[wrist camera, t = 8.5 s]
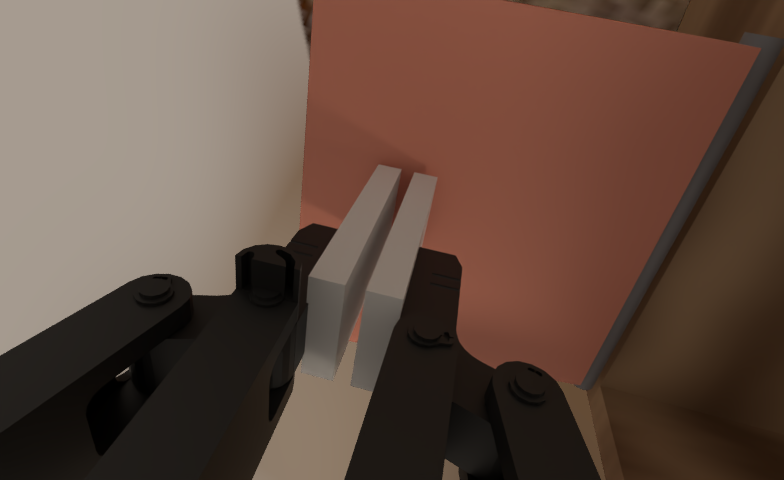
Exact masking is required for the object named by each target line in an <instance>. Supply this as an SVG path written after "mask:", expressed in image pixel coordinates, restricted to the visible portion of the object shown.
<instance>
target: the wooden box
mask: <svg viewBox="0 0 784 480" xmlns="http://www.w3.org/2000/svg"><path fill="white" fill-rule="evenodd" d="M677 32H680V33H686V34H691V35H696V36H702V37H707V38H713V39H718V40H723V41H729V42H734V43H739V42H740V40H741V38H742V36H743V34H744V32H748V33H754V34H759V35H765V36H770V37H776V38H781V39H784V0H691V1H690V3H689V5H688V7H687V10H686V12H685V14H684V16H683V19H682V21H681V23H680V26H679V28H678V30H677ZM586 391H587V396H588V400H589V405H590V409H591V414H592V418H593V423H594V428H595V432H596V437H597V441H598V446H599V451H600V455H601V460H602V464H603V469H604V473H605V478H606V480H784V47H783V48H782V50H781V52H780V54H779V56H778V57H777V59H776V61H775V63H774V64H773V66H772V68H771V70H770V72H769V73H768V75H767V77H766V79H765V81H764V82H763V84H762V86H761V88H760V89H759V91H758V93H757V95H756V97H755V98H754V100H753V102H752V104H751V106H750V107H749V109H748V111H747V113H746V114H745V116H744V118H743V120H742V122H741V123H740V125H739V127H738V129H737V131H736V132H735V134H734V136H733V138H732V139H731V141H730V143H729V145H728V147H727V148H726V150H725V152H724V154H723V156H722V157H721V159H720V161H719V163H718V164H717V166H716V168H715V170H714V172H713V173H712V175H711V177H710V179H709V181H708V182H707V184H706V186H705V188H704V189H703V191H702V193H701V195H700V197H699V198H698V200H697V202H696V204H695V206H694V207H693V209H692V211H691V213H690V214H689V216H688V218H687V220H686V222H685V223H684V225H683V227H682V229H681V231H680V232H679V234H678V236H677V238H676V239H675V241H674V243H673V245H672V247H671V248H670V250H669V252H668V254H667V256H666V257H665V259H664V261H663V263H662V264H661V266H660V268H659V270H658V272H657V273H656V275H655V277H654V279H653V281H652V282H651V284H650V286H649V288H648V290H647V291H646V293H645V295H644V297H643V298H642V300H641V302H640V304H639V306H638V307H637V309H636V311H635V313H634V315H633V316H632V318H631V320H630V322H629V323H628V325H627V327H626V329H625V331H624V332H623V334H622V336H621V338H620V340H619V341H618V343H617V345H616V347H615V348H614V350H613V352H612V354H611V356H610V357H609V359H608V361H607V363H606V365H605V366H604V368H603V370H602V372H601V373H600V375H599V377H598V379H597V381H596V382H595V384H594V386H593V388H592V389H590V390H586Z"/></svg>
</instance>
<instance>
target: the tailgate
mask: <svg viewBox="0 0 784 480" xmlns="http://www.w3.org/2000/svg"><path fill="white" fill-rule="evenodd" d="M783 47H784V39H781V38H776V37H770V36H765V35H759V34H754V33H748V32H744V34H743V36H742V38H741V40H740V42H739V43H734V42H729V41H723V40H718V39H713V38H707V37H702V36H696V35H691V34H686V33H680V32H675V31H669V30H664V29H659V28H653V27H648V26H642V25H637V24H631V23H626V22H621V21H615V20H610V19H604V18H599V17H594V16H588V15H583V14H577V13H572V12H566V11H561V10H556V9H550V8H545V7H539V6H534V5H529V4H523V3H518V2H512V1H507V0H313V17H312V33H311V49H310V66H309V83H308V99H307V115H306V132H305V148H304V149H305V150H304V164H303V165H304V166H303V181H302V197H301V213H300V229H302V228H304V227H306V226H308V225H310V224H312V223H315V224H319V225H324V226H328V227H332V228H336V229H338V228H339V227H340V225H341V224H342V222H343V220H344V219H345V217H346V216H347V214H348V212H349V211H350V209H351V208H352V206H353V204H354V203H355V201H356V200H357V198H358V196H359V195H360V193H361V192H362V190H363V189H364V187H365V185H366V184H367V182H368V181H369V179H370V177H371V176H372V174H373V173H374V171H375V169H376V168H377V166H378V165H379V164H380V165H385V166H389V167H394V168H398V169H402V170H401V176H400V181H399V187H398V192H397V198H396V204H395V209H394V215H393V220H392V226H393V223H394V221H395V218H396V216H397V213H398V211H399V209H400V206H401V204H402V201H403V199H404V196H405V194H406V192H407V189H408V187H409V184H410V182H411V179H412V177H413V175H414V172H416V173H421V174H425V175H430V176H434V177H438V178H437V183H436V187H435V191H434V196H433V200H432V205H431V209H430V214H429V218H428V222H427V227H426V231H425V236H424V240H423V244H422V248H426V249H431V250H435V251H439V252H443V253H448V254H452V255H456V257H457V259H458V260H459V262H460V264H461V266H462V277H461V287H460V297H459V307H458V317H457V327H456V331H457V335H458V339H459V342H460V343H461V345H462V346H463V347H464V349H465V350H466V351H467V352H468V353H470V354H471V355H472V356H473V357H475V358H476V359H478V360H480V361H481V362H483V363H485V364H487V365H489V366H491V367H493V368H495V369H496V368H497V366H499V365H501V364H503V363H505V362H510V361H521V362H525V363H529V364H532V365H534V366H536V367H538V368H540V369H542V370H544V371H545V372H547V373H548V374H549V375H550V376H551V377H552V378H553V379H555V380H556V381H560V382H565V383H570V384H574V385H575V386H576V387H578V388H580V389H583V390H590V389H592V388H593V386H594V384H595V382H596V381H597V379H598V377H599V375H600V373H601V372H602V370H603V368H604V366H605V365H606V363H607V361H608V359H609V357H610V356H611V354H612V352H613V350H614V348H615V347H616V345H617V343H618V341H619V340H620V338H621V336H622V334H623V332H624V331H625V329H626V327H627V325H628V323H629V322H630V320H631V318H632V316H633V315H634V313H635V311H636V309H637V307H638V306H639V304H640V302H641V300H642V298H643V297H644V295H645V293H646V291H647V290H648V288H649V286H650V284H651V282H652V281H653V279H654V277H655V275H656V273H657V272H658V270H659V268H660V266H661V264H662V263H663V261H664V259H665V257H666V256H667V254H668V252H669V250H670V248H671V247H672V245H673V243H674V241H675V239H676V238H677V236H678V234H679V232H680V231H681V229H682V227H683V225H684V223H685V222H686V220H687V218H688V216H689V214H690V213H691V211H692V209H693V207H694V206H695V204H696V202H697V200H698V198H699V197H700V195H701V193H702V191H703V189H704V188H705V186H706V184H707V182H708V181H709V179H710V177H711V175H712V173H713V172H714V170H715V168H716V166H717V164H718V163H719V161H720V159H721V157H722V156H723V154H724V152H725V150H726V148H727V147H728V145H729V143H730V141H731V139H732V138H733V136H734V134H735V132H736V131H737V129H738V127H739V125H740V123H741V122H742V120H743V118H744V116H745V114H746V113H747V111H748V109H749V107H750V106H751V104H752V102H753V100H754V98H755V97H756V95H757V93H758V91H759V89H760V88H761V86H762V84H763V82H764V81H765V79H766V77H767V75H768V73H769V72H770V70H771V68H772V66H773V64H774V63H775V61H776V59H777V57H778V56H779V54H780V52H781V50H782V48H783ZM392 226H391V228H392ZM363 305H364V304H363ZM362 311H363V307H362V309H361V312H360V314H359V317H358V319H357V322H356V324H355V327H354V329H353V332H352V334H351V337H350V339H349V341H352V342H358V336H359V330H360V324H361V317H362Z"/></svg>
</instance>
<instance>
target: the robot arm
mask: <svg viewBox="0 0 784 480" xmlns="http://www.w3.org/2000/svg"><path fill="white" fill-rule="evenodd" d="M401 170H402V169H398V168H394V167H389V166H385V165H380V164H379V165H378V166H377V168H376V169H375V171H374V173H373V174H372V176H371V177H370V179H369V181H368V182H367V184H366V185H365V187H364V189H363V190H362V192H361V193H360V195H359V196H358V198H357V200H356V201H355V203H354V204H353V206H352V208H351V209H350V211H349V212H348V214H347V216H346V217H345V219H344V220H343V222H342V224H341V225H340V227H339V228H338V229H336V228H332V227H328V226H324V225H319V224H315V223H312V224H310V225H308V226H306V227H304V228H302V229H300V230H299V231H298V232H297V233H296V235H295V236H294V237H293V238H292V240H291V242H289V243H288V245H287V246H286V247H282V246H278V245H269V244H266V245H255V246H252V247H249V248H246V249H243V250H242V251H240V252H239V253H238V254H236V255H235V262H236V263H235V264H236V289H235V291H234V292H233V293H232V294H231V295H222V296H207V295H206V296H205V295H204V296H203V295H192V289H191V286H190V284H189V283H188V282H187V281H185V280H184V279H183V278H182V277H178V276H175V275H171V274H153V275H147V276H142V277H140V278H137V279H135V280H133V281H130V282H128V283H126V284H125V285H123V286H121V287H119V288H118V289H116V290H114V291H112V292H111V293H109V294H107V295H105V296H104V297H102V298H100V299H99V300H97V301H95V302H94V303H91V304H90V305H88V306H86V307H84V308H83V309H81V310H79V311H77V312H76V313H74V314H72V315H70V316H69V317H67V318H65V319H63V320H62V321H60V322H58V323H57V324H55V325H53V326H51V327H49V328H48V329H46V330H44V331H42V332H41V333H39V334H37V335H36V336H34V337H32V338H30V339H29V340H27V341H25V342H23V343H22V344H20V345H18V346H16V347H15V348H13V349H11V350H9V351H8V352H6V353H4V354H3V355H1V356H0V480H252V478H253V476H254V474H255V471H256V469H257V467H258V465H259V463H260V461H261V459H262V456H263V454H264V452H265V450H266V448H267V445H268V443H269V441H270V439H271V437H272V434H273V432H274V430H275V428H276V426H277V423H278V421H279V419H280V417H281V415H282V413H283V410H284V408H285V406H286V404H287V402H288V399H289V397H290V395H291V393H292V390H293V384H294V375H295V370H296V368H297V366H298V365H299V363H300V360H301V359H302V366H301V373H305V374H309V375H312V376H316V377H320V378H324V379H327V380H332V381H333V379H334V377H335V374H336V372H337V369H338V367H339V364H340V362H341V359H342V357H343V354H344V352H345V349H346V347H347V344H348V342H349V339H350V337H351V334H352V332H353V329H354V327H355V324H356V322H357V319H358V317H359V314H360V312H361V309H362V307H363V311H362V317H361V324H360V330H359V336H358V342H357V349H356V355H355V361H354V368H353V374H352V380H351V386H353V387H357V388H361V389H365V390H368V391H372V392H373V393H372V396H371V399H370V402H369V405H368V409H367V412H366V415H365V418H364V421H363V424H362V427H361V430H360V433H359V436H358V440H357V442H356V445H355V449H354V452H353V455H352V459H351V461H350V464H349V467H348V470H347V473H346V476H345V480H442V475H443V467H444V460H445V459H447V460H448V461H450V462H452V463H453V464H454V465H456V466H458V467H459V477H460V480H601V479H600V476H599V474H598V472H597V469H596V467H595V465H594V462H593V460H592V458H591V455H590V453H589V451H588V448H587V446H586V444H585V442H584V439H583V437H582V435H581V432H580V430H579V428H578V425H577V423H576V421H575V418H574V416H573V414H572V412H571V409H570V407H569V405H568V402H567V400H566V398H565V395H564V393H563V391H562V389H561V388H560V386H559V385H558V383H557V382H556V380H555V379H553V378H552V377H551V376H550V375H549V374H548V373H547V372H545V371H544V370H542V369H540V368H538V367H536V366H534V365H532V364H529V363H525V362H521V361H510V362H505V363H503V364H501V365H499V366H497V368H496V369H495V368H493V367H491V366H489V365H487V364H485V363H483V362H481V361H480V360H478V359H476V358H475V357H473V356H472V355H471V354H470V353H468V352H467V351H466V350H465V349H464V347H463V346H462V345H461V343H460V342H459V339H458V335H457V331H456V327H457V317H458V307H459V297H460V287H461V277H462V266H461V264H460V262H459V260H458V259H457V257H456V255H452V254H448V253H443V252H439V251H435V250H431V249H426V248H422V244H423V240H424V236H425V231H426V227H427V222H428V218H429V214H430V209H431V205H432V200H433V196H434V191H435V187H436V183H437V178H438V177H434V176H430V175H425V174H421V173H416V172H414V175H413V177H412V179H411V182H410V184H409V187H408V189H407V192H406V194H405V196H404V199H403V201H402V204H401V206H400V209H399V211H398V213H397V216H396V218H395V221H394V223H393V226H392V220H393V215H394V209H395V204H396V198H397V192H398V187H399V181H400V176H401ZM391 226H392V228H391ZM363 304H364V305H363ZM128 367H129V370H128V371H126V372H125V373H123V374H122V375H120V376H118V377H116V376H117V375H118V374H120V373H121V372H122V371H124V370H125V369H126V368H128Z"/></svg>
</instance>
